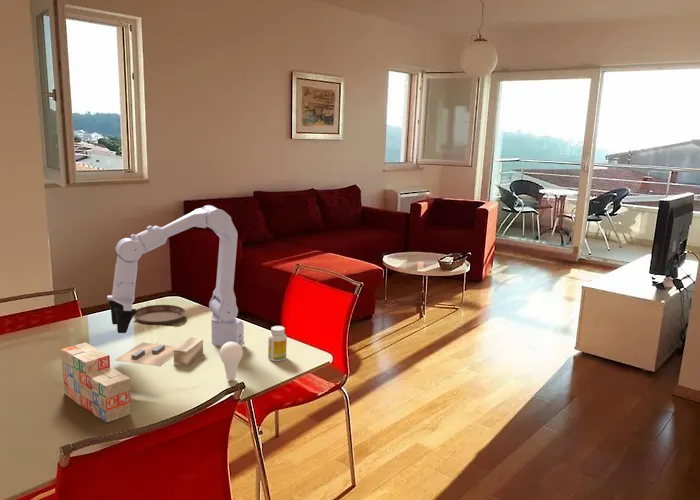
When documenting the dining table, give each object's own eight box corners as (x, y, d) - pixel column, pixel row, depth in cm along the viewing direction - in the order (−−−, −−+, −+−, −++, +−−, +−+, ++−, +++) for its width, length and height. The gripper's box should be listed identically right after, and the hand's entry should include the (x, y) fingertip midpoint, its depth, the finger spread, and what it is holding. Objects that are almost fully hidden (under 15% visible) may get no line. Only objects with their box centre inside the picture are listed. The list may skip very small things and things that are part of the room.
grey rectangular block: (144, 353, 164) (144, 350, 163) (136, 359, 159) (136, 355, 159) (140, 352, 164) (140, 349, 164) (131, 358, 160) (131, 355, 159)
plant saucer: (196, 317, 201) (196, 309, 201) (163, 332, 185) (163, 323, 185) (156, 309, 208) (156, 301, 207) (121, 323, 191) (120, 315, 191)
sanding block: (203, 358, 166) (202, 339, 165) (187, 371, 156) (186, 351, 155) (190, 356, 167) (190, 337, 166) (173, 369, 157) (173, 349, 156)
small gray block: (164, 348, 168) (164, 345, 168) (156, 353, 163) (156, 350, 163) (160, 347, 168) (160, 344, 168) (152, 353, 164) (152, 350, 163)
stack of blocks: (131, 414, 132) (129, 365, 130) (106, 424, 128) (103, 374, 125) (88, 386, 145) (85, 341, 143) (63, 394, 141) (60, 347, 138)
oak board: (184, 352, 169) (184, 347, 169) (160, 371, 156) (160, 365, 155) (142, 346, 172) (142, 342, 172) (115, 364, 158) (114, 359, 158)
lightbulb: (246, 378, 154) (247, 340, 151) (235, 387, 148) (235, 348, 146) (227, 374, 156) (227, 336, 153) (215, 383, 150) (214, 344, 148)
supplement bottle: (264, 359, 167) (264, 328, 165) (275, 353, 171) (275, 323, 169) (279, 363, 164) (280, 332, 162) (289, 357, 169) (290, 327, 167)
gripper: (104, 274, 159) (99, 320, 161) (114, 287, 147) (108, 337, 149) (130, 275, 163) (125, 320, 165) (142, 288, 151) (136, 336, 153)
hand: (119, 328), depth 157 cm, fingers open, 7 cm apart
